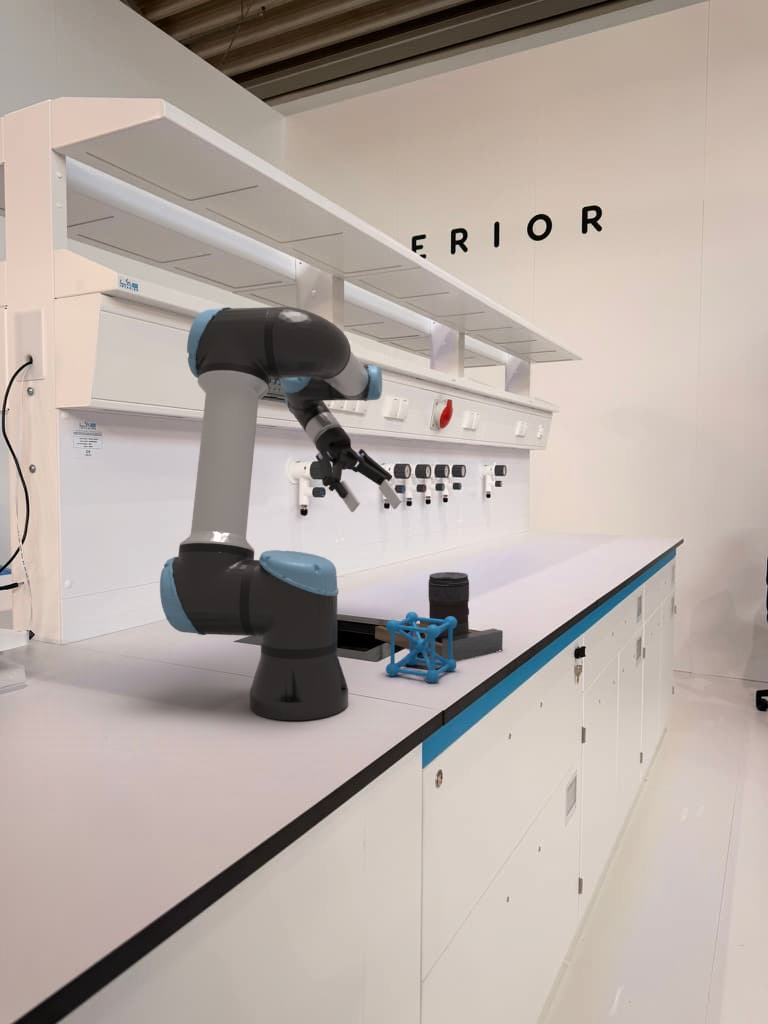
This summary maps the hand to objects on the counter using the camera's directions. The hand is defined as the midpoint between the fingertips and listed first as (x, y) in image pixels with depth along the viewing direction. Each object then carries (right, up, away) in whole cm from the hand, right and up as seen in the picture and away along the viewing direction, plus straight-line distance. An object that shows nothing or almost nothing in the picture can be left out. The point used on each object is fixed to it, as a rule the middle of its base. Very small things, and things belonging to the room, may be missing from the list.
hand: (377, 506), depth 159 cm
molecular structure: (+8, -30, -28) cm, 42 cm away
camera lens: (+14, -29, -11) cm, 34 cm away
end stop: (+19, -29, -16) cm, 38 cm away
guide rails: (+11, -28, -7) cm, 31 cm away
